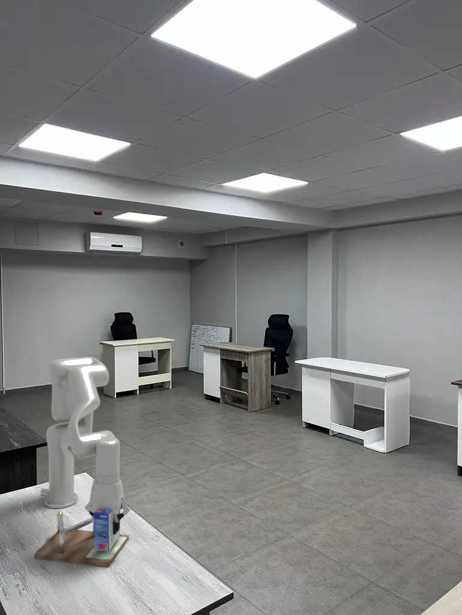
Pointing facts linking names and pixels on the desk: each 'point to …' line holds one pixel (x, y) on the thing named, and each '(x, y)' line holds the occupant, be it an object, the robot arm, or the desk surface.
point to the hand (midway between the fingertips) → (107, 530)
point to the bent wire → (69, 530)
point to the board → (80, 549)
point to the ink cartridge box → (104, 530)
